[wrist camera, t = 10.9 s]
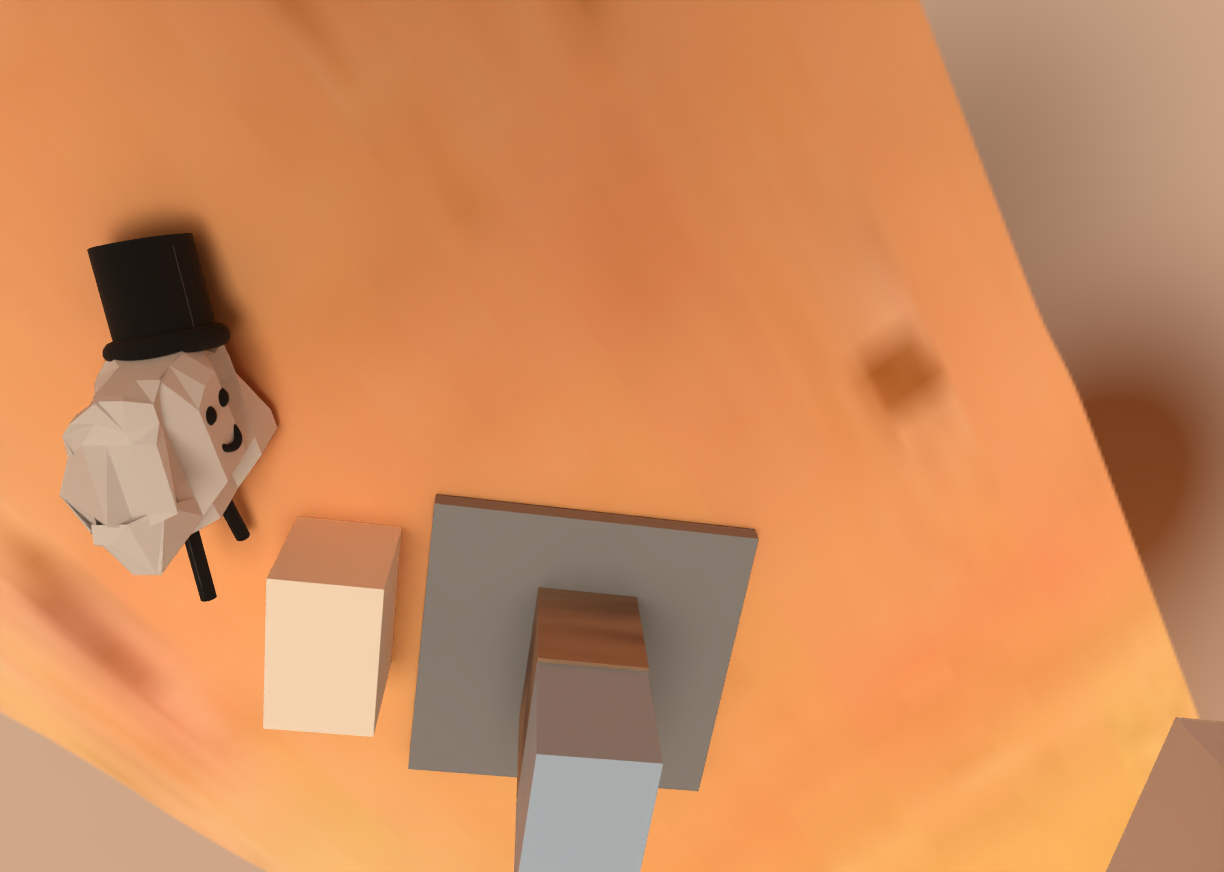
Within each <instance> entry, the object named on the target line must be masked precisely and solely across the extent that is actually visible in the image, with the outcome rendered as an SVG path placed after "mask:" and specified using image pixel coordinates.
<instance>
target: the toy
mask: <svg viewBox="0 0 1224 872" xmlns="http://www.w3.org/2000/svg"><path fill="white" fill-rule="evenodd" d="M87 251H88V254H89V258H90V261H91V265H92V269H93V272H94V276H95V279H96V283H97V286H98V290H99V294H100V297H101V301H102V304H103V308H104V312H105V315H106V319H107V322H108V326H109V330H110V333H111V337H112V340H113V342H111V343H109V344H107V345H106V346H105V348H104V349H103V357H104V359H105V363H104V365H103V367H102V369H101V370H100V372H99V374H98V376H97V379H96V381H95V395H94V398H93V401H92V402H91V404H90V405H89V406H88V407H87V408H85V409H84V410H82V411H81V412H80V413H78V414H77V415H76V416H75V417H74V419H73V420H72V422H71V423H70V424H69V426H68V428H67V429H66V431H65V433H64V435H63V440H64V444H65V448H66V451H67V455H68V459H67V464H66V469H65V474H64V478H63V483H62V487H61V492H60V497H62V499H63V500H64V501H65V502H66V503H67V505H68V506H69V507H70V508H71V510H72V511H73V512H74V513H75V514H76V516H77V517H78V518H79V519H80V520H81V522H82V523H83V524H84V525H85V526H86V528H87V529H88V530H89V531H90V533H91V534H92V536H93V543H94V545H97V546H102V547H104V548H105V549H107V550H108V551H109V552H110V553H111V554H112V555H113V556H114V557H115V558H116V559H117V560H118V561H119V562H120V563H121V564H122V565H124V566H125V567H126V568H127V569H128V570H129V571H130V572H131V573H132V574H133V575H162V573H163V571H164V570H165V569H166V567H167V566H168V565H169V563H170V562H171V561H172V559H173V558H174V557H175V555H176V554H177V552H178V551H179V550H180V548H181V547H182V546H183V544H184V543H185V545H186V549H187V552H188V556H189V559H190V563H191V567H192V570H193V574H194V577H195V581H196V585H197V588H198V592H199V596H200V599H201V601H210V600H213V599H215V598H216V597H217V595H216V592H215V588H214V584H213V581H212V577H211V573H210V570H209V566H208V562H207V559H206V555H205V551H204V547H203V544H202V540H201V536H200V533H199V530H200V529H202V528H203V527H205V526H207V525H209V524H211V523H213V522H214V521H216V520H218V519H220V518H221V517H222V515H223V516H224V518H225V520H226V521H227V523H228V525H229V527H230V529H231V531H232V533H233V534H234V536H235V538H236V540H237V541H243V540H246V539H247V538H248V537H249V536H250V533H249V531H248V529H247V527H246V525H245V523H244V522H243V520H242V518H241V516H240V514H239V512H238V510H237V508H236V506H235V504H234V502H233V500H232V498H233V496H234V494H235V493H236V491H237V489H238V487H239V486H240V485H241V483H242V482H243V480H244V479H245V478H246V476H247V475H248V473H249V472H250V471H251V469H252V468H253V466H254V465H255V464H256V462H257V461H258V459H259V458H260V457H261V455H262V453H263V452H264V450H265V448H266V447H267V445H268V443H269V441H270V440H271V438H272V436H273V434H274V433H275V431H276V429H277V425H276V422H275V420H274V417H273V414H272V411H271V409H270V408H269V407H268V406H267V405H266V404H265V403H264V402H263V401H262V400H261V399H260V398H259V397H258V396H257V395H256V394H255V392H254V391H253V390H252V389H251V388H250V387H249V386H248V385H247V384H246V383H245V382H244V381H243V380H242V379H241V378H240V377H239V376H238V375H237V374H236V372H235V369H234V367H233V364H232V361H231V359H230V356H229V354H228V352H227V350H226V348H225V345H224V344H226V343H227V342H228V341H229V339H230V331H229V329H228V327H227V326H225V325H224V324H222V323H215V321H214V317H213V313H212V309H211V305H210V301H209V297H208V293H207V290H206V286H205V282H204V278H203V274H202V270H201V266H200V262H199V258H198V254H197V250H196V246H195V243H194V239H193V235H192V234H191V233H184V234H172V235H163V236H155V237H147V238H140V239H134V240H128V241H122V242H116V243H111V244H106V245H101V246H96V247H92V248H89V249H87Z"/></svg>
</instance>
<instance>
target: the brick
mask: <svg viewBox="0 0 1224 872" xmlns="http://www.w3.org/2000/svg"><path fill="white" fill-rule="evenodd" d="M401 533H402V527H401V526H391V525H381V524H371V523H361V522H351V521H341V520H331V519H321V518H312V517H302V516H298V517H297V519H296V521H295V523H294V525H293V527H292V529H291V531H290V533H289V535H288V537H287V539H286V541H285V543H284V545H283V547H282V549H281V551H280V553H279V555H278V557H277V559H276V561H275V563H274V565H273V567H272V569H271V571H270V573H269V575H268V577H267V580H266V626H265V672H264V718H263V728H265V729H278V730H291V731H304V732H318V733H331V734H344V735H357V736H370V737H373V736H374V732H375V727H376V723H377V719H378V715H379V711H380V707H381V703H382V698H383V694H384V690H385V686H386V682H387V678H388V673H389V669H390V665H391V659H392V647H393V634H394V621H395V609H396V596H397V583H398V571H399V558H400V545H401Z"/></svg>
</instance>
